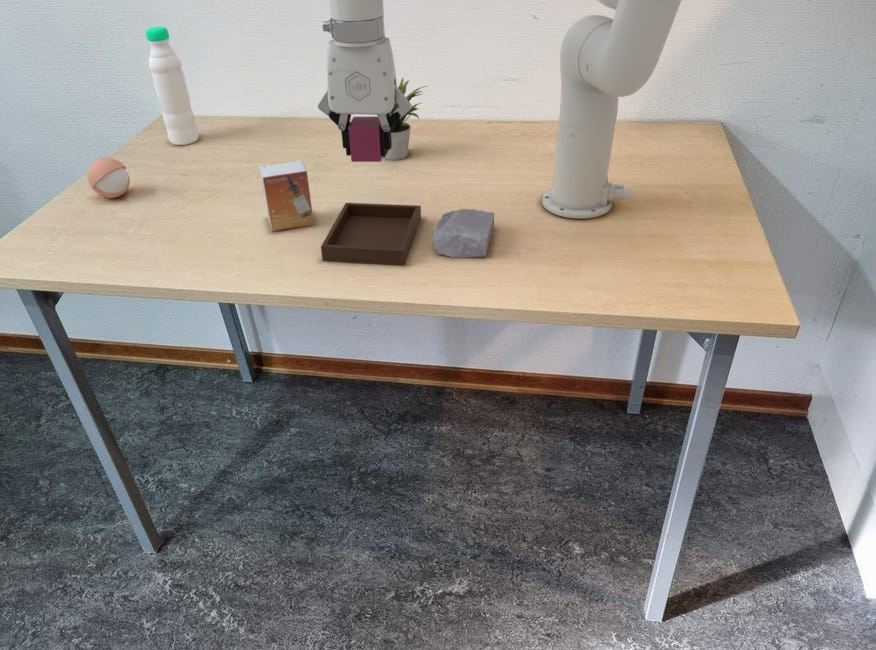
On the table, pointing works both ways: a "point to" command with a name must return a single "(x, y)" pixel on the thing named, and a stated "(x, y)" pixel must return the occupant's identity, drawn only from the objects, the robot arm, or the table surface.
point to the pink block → (365, 139)
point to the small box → (287, 195)
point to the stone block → (464, 233)
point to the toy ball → (108, 177)
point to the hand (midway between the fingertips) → (367, 151)
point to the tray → (372, 234)
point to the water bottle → (171, 88)
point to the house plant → (401, 128)
